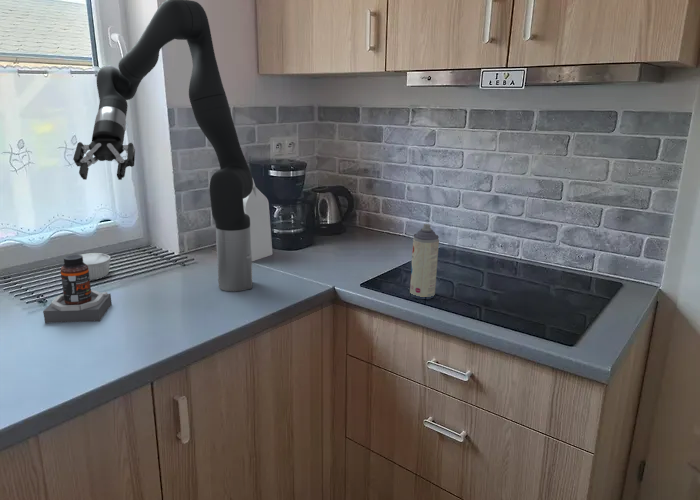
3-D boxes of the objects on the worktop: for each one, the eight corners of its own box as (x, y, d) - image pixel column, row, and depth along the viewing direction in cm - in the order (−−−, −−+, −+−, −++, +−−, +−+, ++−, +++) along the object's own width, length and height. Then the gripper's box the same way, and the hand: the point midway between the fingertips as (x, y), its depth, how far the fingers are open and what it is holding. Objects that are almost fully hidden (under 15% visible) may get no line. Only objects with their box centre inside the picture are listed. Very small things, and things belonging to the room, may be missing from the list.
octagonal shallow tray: (112, 304, 134) (110, 289, 133) (99, 321, 124) (97, 305, 123) (61, 305, 132) (59, 290, 131) (44, 323, 122) (42, 307, 121)
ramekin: (118, 276, 154) (116, 258, 153) (78, 285, 146) (76, 267, 145) (102, 266, 161) (100, 250, 160) (63, 275, 154) (61, 258, 152)
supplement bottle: (80, 307, 124) (75, 261, 121) (58, 304, 125) (52, 259, 122) (97, 298, 130) (92, 254, 126) (76, 295, 131) (70, 252, 128)
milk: (221, 255, 175) (218, 177, 167) (247, 247, 184) (244, 173, 176) (247, 262, 168) (245, 181, 161) (272, 254, 177) (271, 177, 170)
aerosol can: (415, 289, 150) (420, 220, 144) (438, 294, 146) (443, 224, 140) (405, 296, 144) (409, 225, 138) (428, 301, 141) (434, 229, 135)
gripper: (76, 118, 137) (66, 168, 129) (134, 119, 139) (127, 169, 131) (86, 137, 143) (76, 186, 136) (140, 137, 145) (134, 186, 138)
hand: (101, 177), depth 134 cm, fingers open, 8 cm apart
